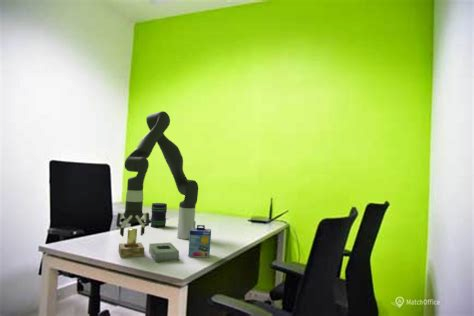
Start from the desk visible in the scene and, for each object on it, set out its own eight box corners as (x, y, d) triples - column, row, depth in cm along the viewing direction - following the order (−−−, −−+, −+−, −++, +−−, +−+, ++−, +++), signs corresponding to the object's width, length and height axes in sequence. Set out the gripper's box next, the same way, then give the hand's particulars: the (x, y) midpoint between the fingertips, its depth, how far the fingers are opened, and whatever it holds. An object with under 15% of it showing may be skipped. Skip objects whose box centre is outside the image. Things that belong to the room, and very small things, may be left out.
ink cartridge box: (187, 257, 143) (189, 225, 143) (188, 253, 148) (190, 223, 149) (209, 257, 144) (211, 226, 144) (209, 254, 149) (211, 223, 150)
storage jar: (147, 226, 208) (148, 203, 208) (159, 224, 215) (161, 202, 216) (156, 228, 201) (157, 205, 202) (168, 226, 209) (170, 204, 209)
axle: (135, 249, 146) (136, 228, 147) (136, 252, 143) (137, 229, 143) (126, 250, 145) (127, 228, 145) (126, 252, 141) (128, 230, 141)
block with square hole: (170, 250, 151) (170, 242, 151) (178, 260, 137) (179, 251, 137) (148, 252, 147) (149, 243, 147) (155, 262, 133) (155, 252, 133)
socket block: (140, 249, 150) (141, 242, 150) (143, 255, 141) (144, 247, 141) (118, 251, 146) (118, 243, 146) (120, 257, 137) (120, 249, 137)
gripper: (148, 199, 151) (146, 233, 150) (117, 199, 145) (114, 234, 144) (151, 201, 144) (149, 236, 144) (118, 200, 138) (116, 238, 137)
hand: (132, 235), depth 144 cm, fingers open, 8 cm apart
